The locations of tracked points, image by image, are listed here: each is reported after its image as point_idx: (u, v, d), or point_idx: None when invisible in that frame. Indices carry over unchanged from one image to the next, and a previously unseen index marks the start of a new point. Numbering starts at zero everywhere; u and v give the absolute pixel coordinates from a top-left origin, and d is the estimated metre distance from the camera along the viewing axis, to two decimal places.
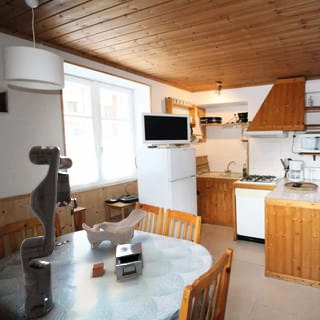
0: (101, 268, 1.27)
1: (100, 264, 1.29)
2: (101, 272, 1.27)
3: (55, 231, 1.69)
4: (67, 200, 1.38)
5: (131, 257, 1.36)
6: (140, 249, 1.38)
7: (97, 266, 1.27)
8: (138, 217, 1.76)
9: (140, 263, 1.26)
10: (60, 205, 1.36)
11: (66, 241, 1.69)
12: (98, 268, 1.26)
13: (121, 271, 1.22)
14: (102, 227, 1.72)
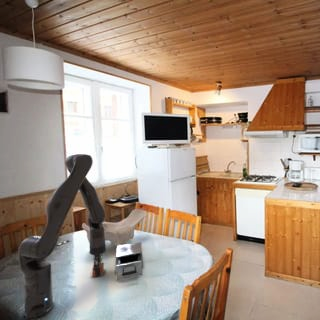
0: (101, 268, 1.27)
1: None
2: (101, 272, 1.27)
3: None
4: (95, 257, 1.25)
5: (131, 257, 1.36)
6: (140, 249, 1.38)
7: None
8: (138, 217, 1.76)
9: (140, 263, 1.26)
10: None
11: (66, 241, 1.69)
12: None
13: (121, 271, 1.22)
14: None
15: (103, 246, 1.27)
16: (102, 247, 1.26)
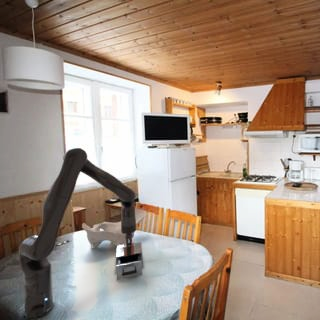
0: (132, 247, 1.26)
1: None
2: (132, 251, 1.26)
3: None
4: (126, 236, 1.24)
5: (131, 257, 1.36)
6: (140, 249, 1.38)
7: None
8: (138, 217, 1.76)
9: (140, 263, 1.26)
10: None
11: (66, 241, 1.69)
12: None
13: (121, 271, 1.22)
14: (102, 227, 1.72)
15: (134, 225, 1.26)
16: (133, 226, 1.26)
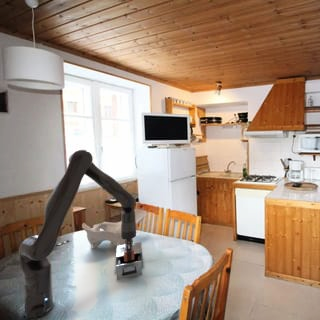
0: (132, 253, 1.26)
1: None
2: (132, 257, 1.27)
3: None
4: (126, 242, 1.25)
5: None
6: (140, 249, 1.38)
7: (128, 251, 1.27)
8: (138, 217, 1.76)
9: (140, 263, 1.26)
10: None
11: (66, 241, 1.69)
12: None
13: (121, 271, 1.22)
14: (102, 227, 1.72)
15: (134, 231, 1.26)
16: (133, 232, 1.26)
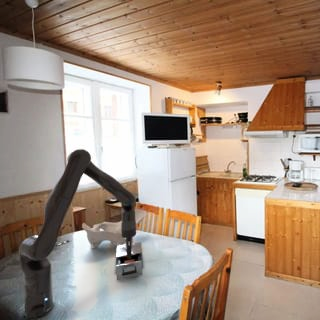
0: None
1: (131, 261, 1.29)
2: None
3: None
4: (126, 240, 1.25)
5: (131, 257, 1.36)
6: (140, 249, 1.38)
7: None
8: (138, 217, 1.76)
9: (140, 263, 1.26)
10: None
11: (66, 241, 1.69)
12: None
13: (121, 271, 1.22)
14: (102, 227, 1.72)
15: (134, 229, 1.26)
16: (134, 230, 1.26)
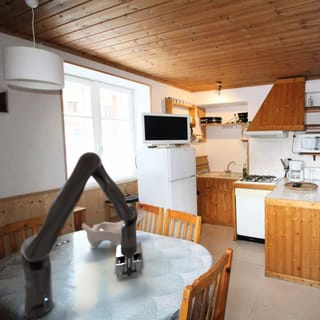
0: None
1: None
2: None
3: None
4: (126, 258, 1.15)
5: None
6: (140, 249, 1.38)
7: None
8: (138, 217, 1.76)
9: (140, 262, 1.26)
10: None
11: (66, 241, 1.69)
12: None
13: (121, 270, 1.22)
14: (102, 227, 1.72)
15: (135, 246, 1.17)
16: (134, 247, 1.16)
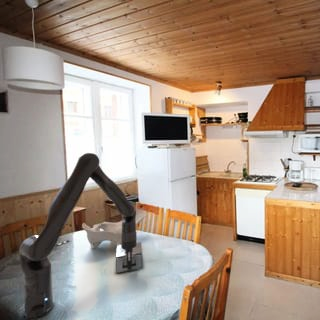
0: None
1: None
2: None
3: None
4: (126, 252, 1.21)
5: None
6: (140, 249, 1.38)
7: None
8: (138, 217, 1.76)
9: (139, 257, 1.33)
10: None
11: (66, 241, 1.69)
12: None
13: (121, 264, 1.29)
14: (102, 227, 1.72)
15: (135, 240, 1.23)
16: (134, 241, 1.23)
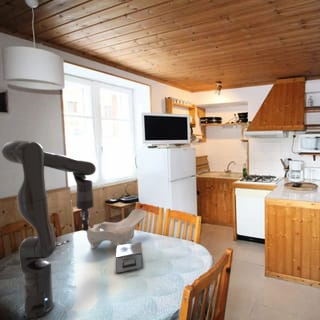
0: None
1: None
2: None
3: (55, 231, 1.69)
4: None
5: None
6: (140, 249, 1.38)
7: None
8: (138, 217, 1.76)
9: (139, 257, 1.33)
10: None
11: (66, 241, 1.69)
12: None
13: (121, 264, 1.29)
14: (102, 227, 1.72)
15: (91, 201, 1.21)
16: (90, 202, 1.20)
